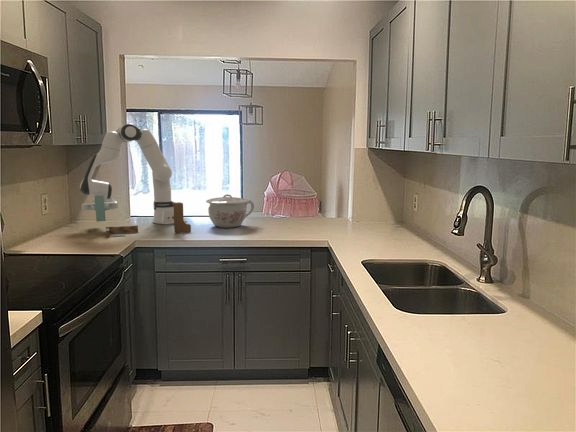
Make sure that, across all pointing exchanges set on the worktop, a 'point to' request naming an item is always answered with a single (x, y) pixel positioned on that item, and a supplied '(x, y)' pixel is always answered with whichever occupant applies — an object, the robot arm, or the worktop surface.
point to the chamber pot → (228, 211)
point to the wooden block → (180, 219)
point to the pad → (117, 235)
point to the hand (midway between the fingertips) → (100, 207)
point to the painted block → (100, 208)
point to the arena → (121, 230)
